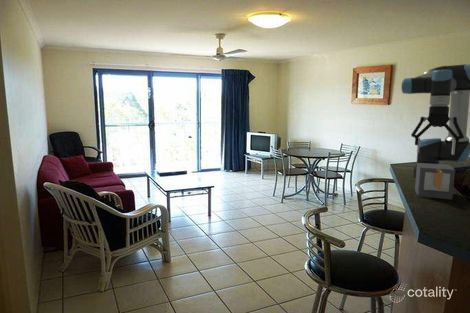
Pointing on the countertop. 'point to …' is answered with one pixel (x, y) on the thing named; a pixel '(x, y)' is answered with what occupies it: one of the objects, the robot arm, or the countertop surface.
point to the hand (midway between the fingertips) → (435, 153)
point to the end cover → (437, 181)
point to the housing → (432, 168)
